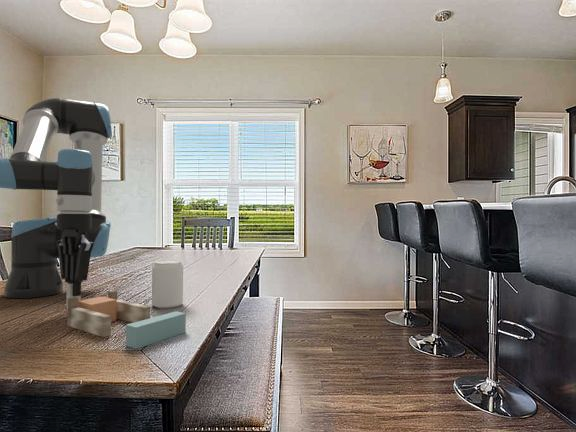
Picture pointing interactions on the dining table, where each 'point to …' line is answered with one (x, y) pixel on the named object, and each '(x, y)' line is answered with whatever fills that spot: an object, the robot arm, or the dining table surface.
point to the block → (100, 306)
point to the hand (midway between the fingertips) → (73, 308)
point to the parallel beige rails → (104, 315)
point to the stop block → (155, 329)
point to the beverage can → (167, 284)
